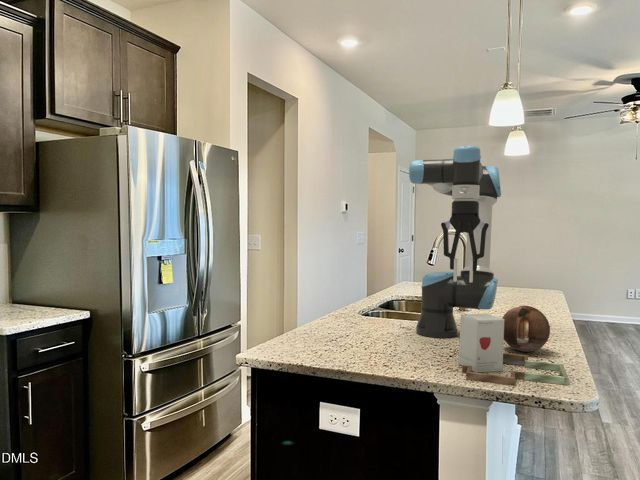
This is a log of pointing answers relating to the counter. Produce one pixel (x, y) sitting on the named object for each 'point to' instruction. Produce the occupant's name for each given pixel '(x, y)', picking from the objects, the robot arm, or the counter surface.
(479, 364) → the supplement box
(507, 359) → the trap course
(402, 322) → the counter surface
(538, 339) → the wooden sphere
